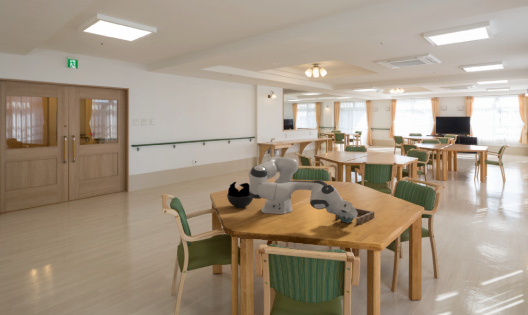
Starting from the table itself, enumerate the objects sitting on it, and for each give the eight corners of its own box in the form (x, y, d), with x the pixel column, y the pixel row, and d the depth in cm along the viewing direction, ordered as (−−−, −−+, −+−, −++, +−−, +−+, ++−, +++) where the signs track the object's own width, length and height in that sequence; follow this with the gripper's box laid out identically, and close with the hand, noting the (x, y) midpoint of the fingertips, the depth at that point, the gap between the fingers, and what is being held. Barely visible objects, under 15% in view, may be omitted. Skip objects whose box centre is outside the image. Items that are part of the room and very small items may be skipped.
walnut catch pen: (358, 224, 203) (358, 218, 202) (335, 219, 214) (335, 213, 214) (374, 217, 218) (374, 211, 218) (351, 213, 229) (352, 207, 229)
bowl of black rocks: (257, 209, 240) (256, 184, 238) (230, 211, 234) (229, 186, 232) (249, 203, 259) (249, 179, 257) (224, 205, 253) (224, 181, 251)
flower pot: (342, 219, 215) (343, 205, 214) (355, 221, 210) (356, 207, 209) (336, 221, 208) (337, 208, 208) (350, 224, 203) (350, 210, 202)
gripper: (320, 206, 202) (329, 218, 210) (350, 212, 188) (358, 225, 196) (324, 198, 205) (333, 210, 213) (354, 203, 191) (361, 216, 199)
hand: (345, 217), depth 204 cm, fingers closed
